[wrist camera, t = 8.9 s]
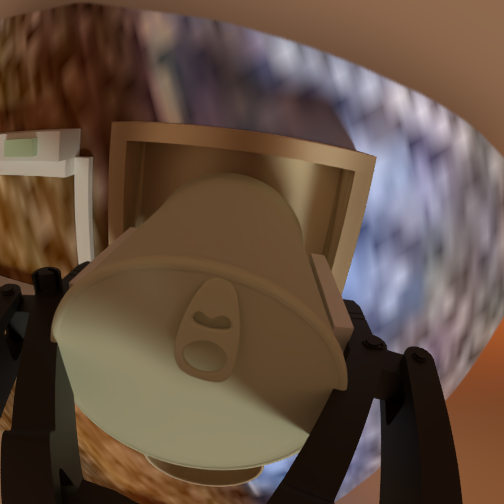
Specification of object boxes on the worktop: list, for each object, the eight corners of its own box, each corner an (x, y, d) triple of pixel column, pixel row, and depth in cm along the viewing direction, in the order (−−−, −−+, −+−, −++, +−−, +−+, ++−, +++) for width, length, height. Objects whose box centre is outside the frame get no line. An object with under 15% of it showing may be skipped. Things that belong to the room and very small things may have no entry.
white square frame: (-15, 280, 24) (-33, 294, 21) (-31, 136, 18) (-55, 141, 15) (100, 313, 24) (83, 336, 21) (94, 128, 18) (69, 131, 15)
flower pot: (206, 439, 30) (197, 492, 24) (141, 387, 27) (119, 444, 21) (284, 413, 28) (286, 474, 21) (221, 351, 25) (209, 420, 18)
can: (325, 199, 17) (419, 323, 6) (275, 328, 21) (284, 492, 10) (167, 155, 17) (26, 216, 6) (143, 292, 20) (62, 436, 9)
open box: (134, 307, 23) (116, 335, 20) (138, 121, 18) (111, 121, 14) (310, 334, 24) (316, 367, 20) (356, 150, 18) (376, 156, 15)
